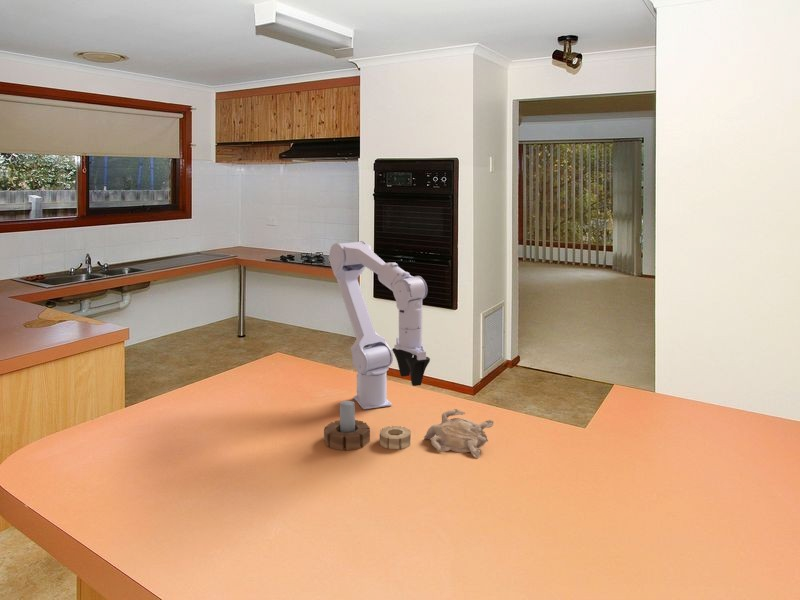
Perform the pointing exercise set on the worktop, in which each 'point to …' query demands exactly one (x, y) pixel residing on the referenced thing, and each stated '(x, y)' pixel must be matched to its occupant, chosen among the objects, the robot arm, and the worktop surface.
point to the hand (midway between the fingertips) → (410, 380)
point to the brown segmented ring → (346, 436)
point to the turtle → (458, 434)
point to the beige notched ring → (395, 437)
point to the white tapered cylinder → (347, 417)
